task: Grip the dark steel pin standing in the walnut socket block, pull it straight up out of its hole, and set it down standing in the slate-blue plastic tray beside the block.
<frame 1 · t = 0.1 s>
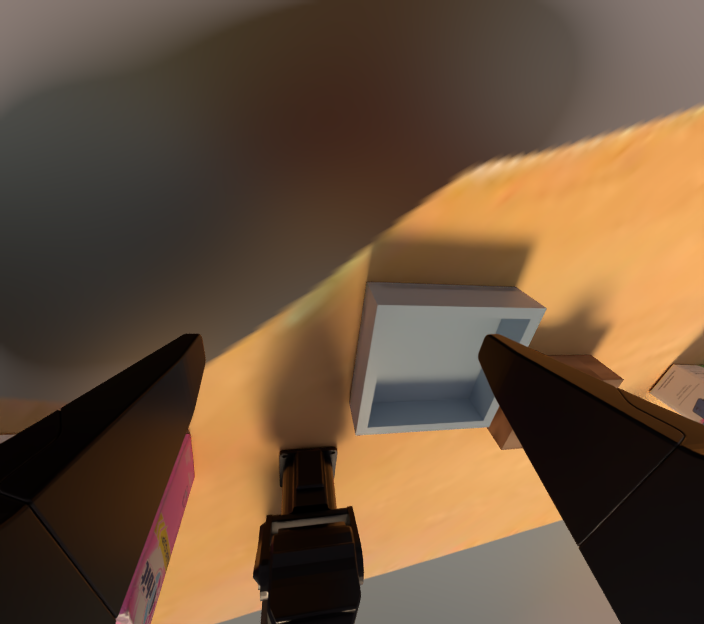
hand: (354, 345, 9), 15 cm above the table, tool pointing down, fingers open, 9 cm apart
ink box: (682, 376, 39), on the table
tray: (426, 349, 29), on the table
gum box: (71, 456, 30), on the table
socket block: (534, 389, 35), on the table
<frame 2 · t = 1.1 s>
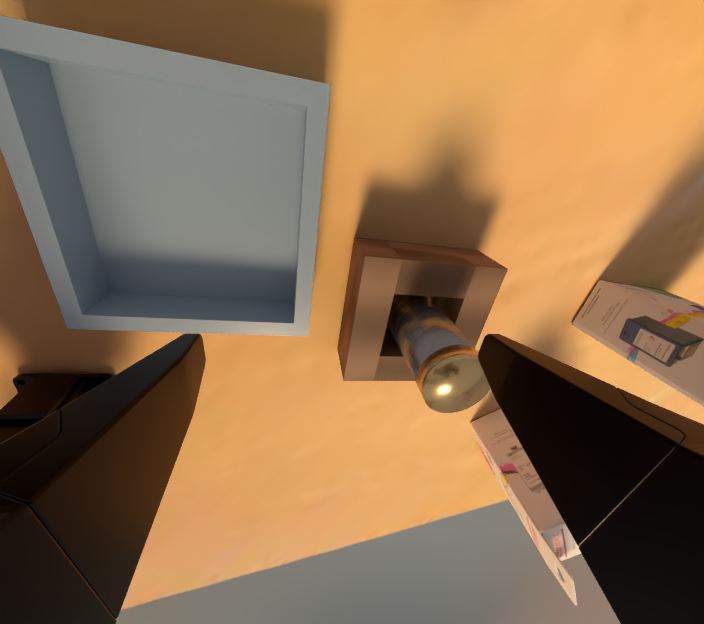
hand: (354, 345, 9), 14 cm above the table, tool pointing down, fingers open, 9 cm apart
ink box: (615, 304, 29), on the table
tray: (203, 206, 19), on the table
steel pin: (403, 302, 25), resting in socket block
ink cartridge box: (494, 430, 37), on the table
socket block: (403, 302, 25), on the table
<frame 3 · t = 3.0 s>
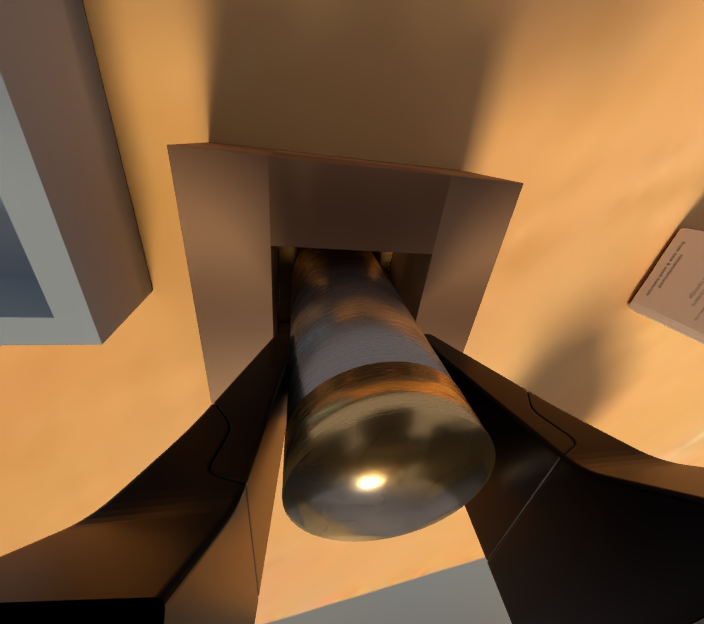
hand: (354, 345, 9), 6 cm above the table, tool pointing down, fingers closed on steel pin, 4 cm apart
ink box: (700, 272, 18), on the table
steel pin: (335, 275, 14), resting in socket block, touching gripper
socket block: (335, 276, 14), on the table
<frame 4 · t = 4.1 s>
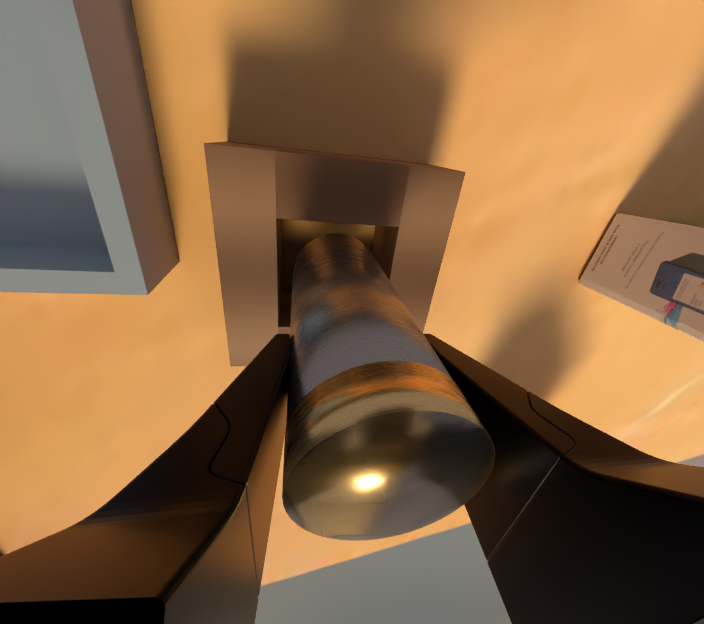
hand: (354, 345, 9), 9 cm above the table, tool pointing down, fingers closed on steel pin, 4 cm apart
ink box: (640, 252, 21), on the table
steel pin: (335, 275, 14), point 4 cm above the table, touching gripper
socket block: (327, 251, 17), on the table
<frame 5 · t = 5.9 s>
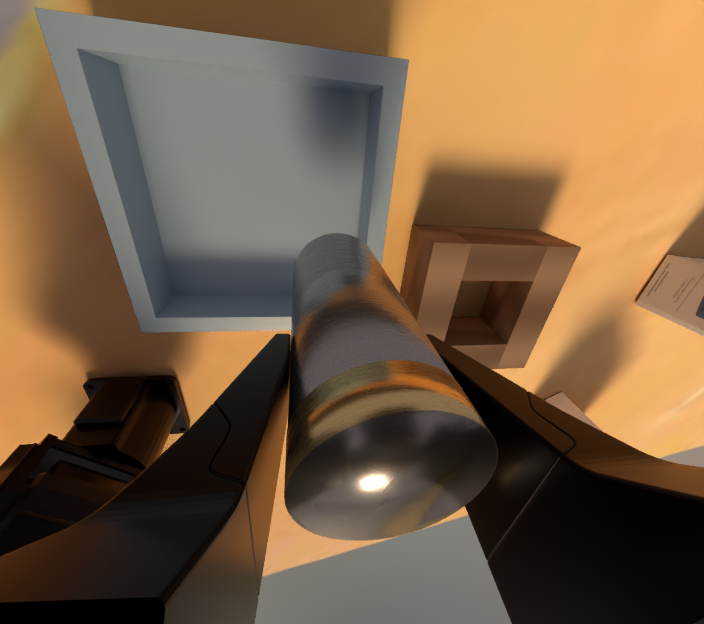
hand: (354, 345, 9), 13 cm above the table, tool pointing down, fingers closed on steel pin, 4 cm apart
ink box: (683, 280, 28), on the table
tray: (263, 201, 19), on the table
steel pin: (336, 275, 14), point 7 cm above the table, touching gripper
ink cartridge box: (546, 418, 36), on the table
socket block: (460, 289, 24), on the table
when the fingers open (7 cm above the table, at t = 7.6 s): steel pin stays where it is, resting on tray.
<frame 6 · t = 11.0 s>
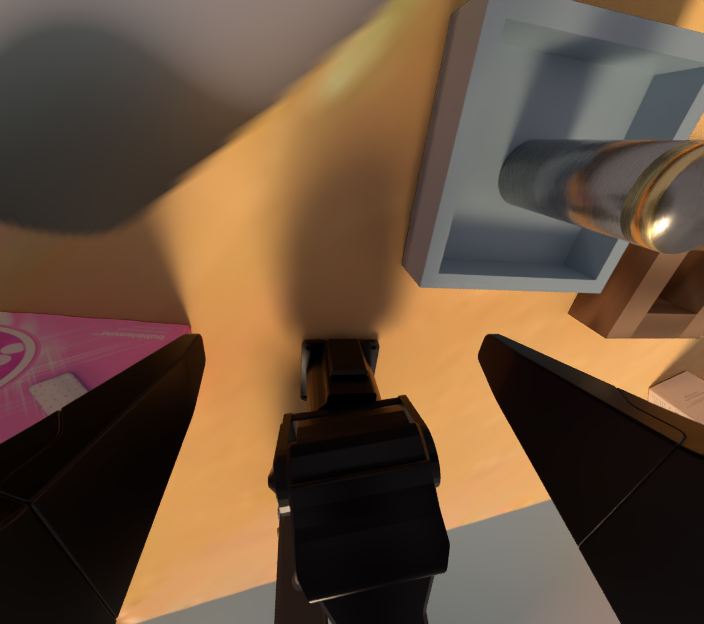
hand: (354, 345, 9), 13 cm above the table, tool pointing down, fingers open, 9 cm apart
tray: (517, 173, 21), on the table
gum box: (29, 353, 22), on the table
steel pin: (527, 174, 20), point 1 cm above the table, touching tray
ink cartridge box: (663, 397, 38), on the table
socket block: (642, 265, 26), on the table
card reader: (300, 476, 34), on the table
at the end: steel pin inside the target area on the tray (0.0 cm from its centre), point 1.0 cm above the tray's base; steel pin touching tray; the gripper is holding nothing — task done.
